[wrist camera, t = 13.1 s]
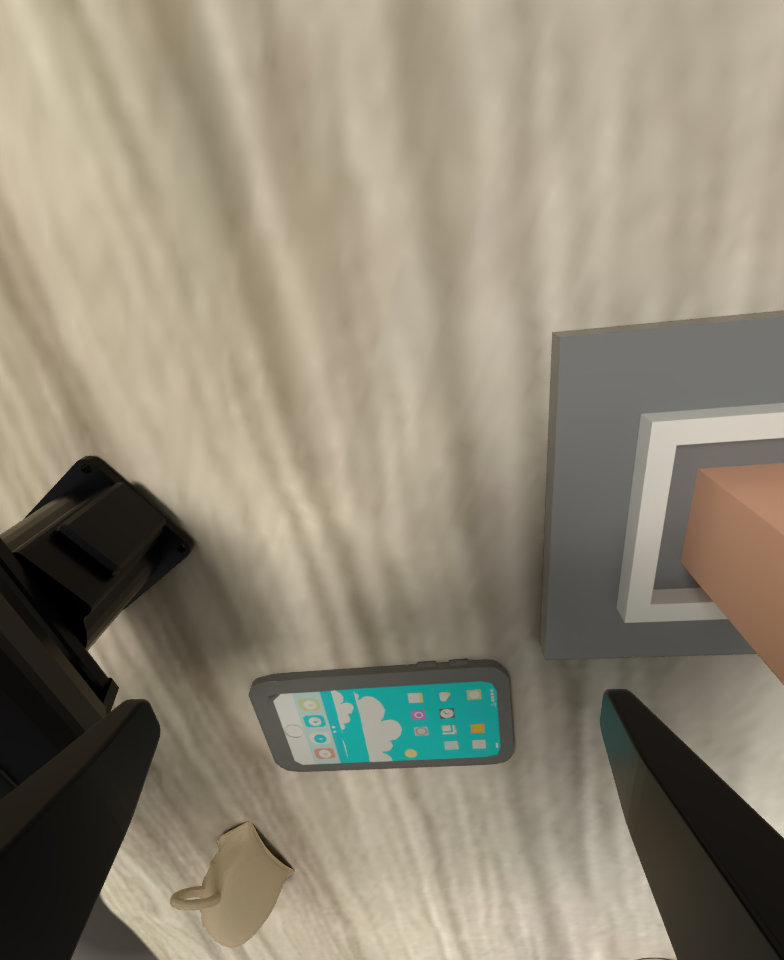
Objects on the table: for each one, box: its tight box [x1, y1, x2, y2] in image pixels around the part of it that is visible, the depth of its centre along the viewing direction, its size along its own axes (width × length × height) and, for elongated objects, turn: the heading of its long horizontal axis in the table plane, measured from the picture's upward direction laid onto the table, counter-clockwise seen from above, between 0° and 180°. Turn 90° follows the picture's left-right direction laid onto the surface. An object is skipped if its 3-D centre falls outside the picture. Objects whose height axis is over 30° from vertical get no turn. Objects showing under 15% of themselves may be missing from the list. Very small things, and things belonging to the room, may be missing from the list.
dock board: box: [540, 311, 784, 660], centre depth 20 cm, size 16×16×2 cm
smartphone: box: [249, 659, 514, 772], centre depth 28 cm, size 9×1×15 cm
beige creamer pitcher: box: [170, 821, 294, 947], centre depth 33 cm, size 4×8×5 cm, turn 22°
